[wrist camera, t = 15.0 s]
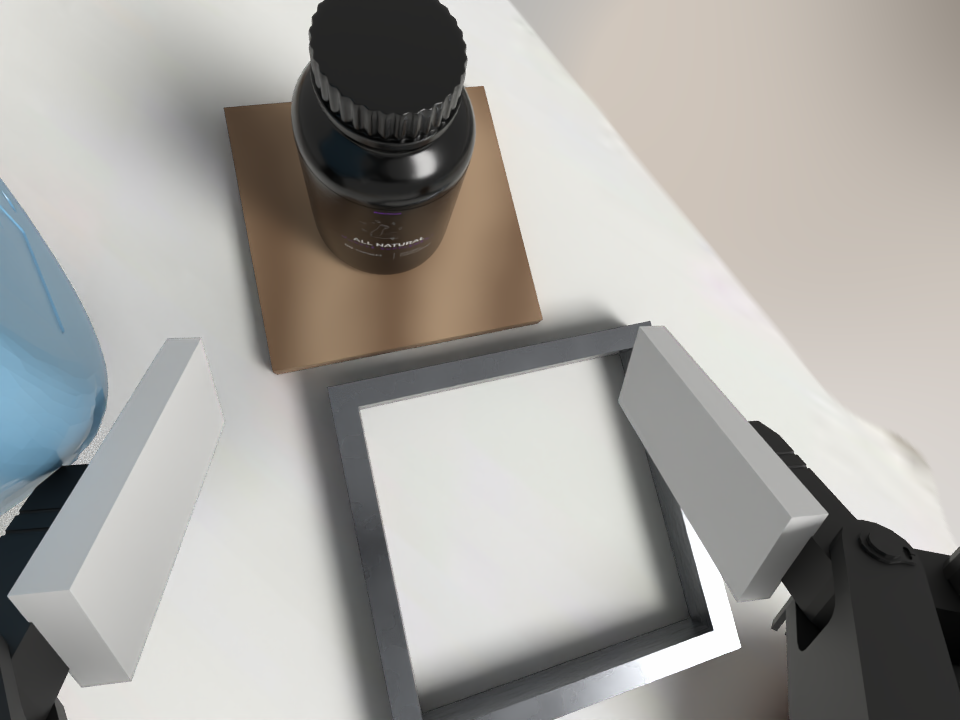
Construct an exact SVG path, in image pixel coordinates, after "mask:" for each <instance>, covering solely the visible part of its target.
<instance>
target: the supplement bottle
mask: <svg viewBox="0 0 960 720" xmlns="http://www.w3.org/2000/svg"><path fill="white" fill-rule="evenodd" d="M309 41H310V43H309V53H310V59H311V61H310V62H309V63H308V64H307V66H306V67H305V68H304V70H303V71H302V73H301V75H300V77H299V79H298V81H297V84H296V86H295V89H294V93H293V97H292V104H291V121H292V129H293V134H294V139H295V144H296V148H297V152H298V156H299V160H300V164H301V168H302V172H303V176H304V180H305V184H306V188H307V192H308V197H309V201H310V205H311V209H312V213H313V216H314V220H315V223H316V226H317V229H318V232H319V234H320V236H321V238H322V240H323V241H324V243H325V244H326V246H327V247H328V248H329V249H330V251H331V252H332V253H333V254H334V255H335V256H336V257H338V258H339V259H340V260H341V261H343V262H344V263H346V264H347V265H349V266H351V267H353V268H355V269H357V270H360V271H363V272H366V273H370V274H377V275H393V274H399V273H403V272H406V271H409V270H411V269H414V268H416V267H418V266H419V265H421V264H422V263H424V262H425V261H426V260H427V259H429V258H430V257H431V256H432V255H433V253H434V252H435V251H436V250H437V248H438V247H439V245H440V243H441V241H442V239H443V237H444V235H445V232H446V230H447V227H448V224H449V221H450V218H451V215H452V213H453V210H454V207H455V204H456V201H457V198H458V195H459V192H460V190H461V187H462V184H463V181H464V178H465V175H466V172H467V169H468V167H469V164H470V160H471V157H472V153H473V150H474V144H475V137H476V123H475V115H474V111H473V107H472V104H471V101H470V98H469V96H468V93H467V91H466V89H465V87H464V85H463V83H464V79H465V70H466V66H467V56H466V44H465V42H464V40H463V32H462V31H461V29H460V28H459V27H458V26H457V21H456V19H455V18H454V17H453V16H452V15H450V13H449V10H448V8H447V7H445V6H444V5H442V4H441V3H440V2H439V0H324V1H323V2H321V3H319V4H318V7H317V12H316V13H315V14H314V15H313V16H312V26H311V27H310V29H309Z"/></svg>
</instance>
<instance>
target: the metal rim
mask: <svg viewBox="0 0 960 720" xmlns="http://www.w3.org/2000/svg"><path fill="white" fill-rule="evenodd" d="M639 326H651V322H650V321H648V322H643V323H638V324H633V325H628V326H623V327H619V328H614V329H609V330H604V331H599V332H594V333H589V334H585V335H580V336H575V337H570V338H565V339H560V340H555V341H551V342H546V343H541V344H536V345H531V346H526V347H521V348H516V349H512V350H507V351H502V352H497V353H492V354H487V355H482V356H478V357H473V358H468V359H463V360H458V361H453V362H448V363H444V364H439V365H434V366H429V367H424V368H419V369H414V370H409V371H405V372H400V373H395V374H390V375H385V376H380V377H375V378H371V379H366V380H361V381H356V382H351V383H346V384H341V385H336V386H332V387H327V388H328V393H329V398H330V403H331V409H332V414H333V419H334V424H335V429H336V434H337V439H338V444H339V449H340V454H341V459H342V464H343V469H344V474H345V479H346V484H347V489H348V494H349V499H350V505H351V510H352V515H353V520H354V525H355V530H356V535H357V540H358V545H359V550H360V555H361V560H362V565H363V570H364V575H365V580H366V585H367V590H368V595H369V601H370V606H371V611H372V616H373V621H374V626H375V631H376V636H377V641H378V646H379V651H380V656H381V661H382V666H383V671H384V676H385V681H386V686H387V691H388V697H389V702H390V707H391V712H392V717H393V720H554V719H556V718H559V717H562V716H564V715H567V714H569V713H572V712H575V711H577V710H580V709H582V708H585V707H588V706H590V705H593V704H596V703H598V702H601V701H603V700H606V699H609V698H611V697H614V696H616V695H619V694H622V693H624V692H627V691H629V690H632V689H635V688H637V687H640V686H642V685H645V684H648V683H650V682H653V681H655V680H658V679H661V678H663V677H666V676H669V675H671V674H674V673H676V672H679V671H682V670H684V669H687V668H689V667H692V666H695V665H697V664H700V663H702V662H705V661H708V660H710V659H713V658H715V657H718V656H721V655H723V654H726V653H729V652H731V651H734V650H736V649H739V648H741V645H740V641H739V638H738V634H737V631H736V627H735V623H734V620H733V616H732V613H731V609H730V605H729V602H728V598H727V595H726V591H725V588H724V584H723V580H722V577H721V574H720V573H719V571H718V569H717V568H716V566H715V564H714V563H713V561H712V559H711V557H710V556H709V554H708V552H707V551H706V549H705V547H704V546H703V544H702V542H701V541H700V539H699V537H698V536H697V534H696V532H695V531H694V529H693V527H692V526H691V524H690V522H689V520H688V519H687V517H686V515H685V514H684V512H683V510H682V509H681V507H680V505H679V504H678V502H677V500H676V499H675V497H674V495H673V494H672V492H671V490H670V489H669V487H668V485H667V483H666V482H665V480H664V478H663V477H662V475H661V473H660V472H659V470H658V468H657V467H656V465H655V463H654V462H653V460H652V458H651V457H650V455H649V453H648V452H647V450H646V448H645V450H646V454H647V457H648V461H649V465H650V468H651V472H652V476H653V480H654V483H655V487H656V491H657V494H658V498H659V502H660V506H661V509H662V513H663V517H664V520H665V524H666V528H667V531H668V535H669V539H670V543H671V546H672V550H673V554H674V557H675V561H676V565H677V569H678V572H679V576H680V580H681V583H682V587H683V591H684V595H685V598H686V602H687V606H688V609H689V613H690V617H691V618H688V619H686V620H683V621H680V622H677V623H675V624H672V625H669V626H666V627H663V628H661V629H658V630H655V631H652V632H649V633H647V634H644V635H641V636H638V637H635V638H633V639H630V640H627V641H624V642H622V643H619V644H616V645H613V646H610V647H608V648H605V649H602V650H599V651H596V652H594V653H591V654H588V655H585V656H583V657H580V658H577V659H574V660H571V661H569V662H566V663H563V664H560V665H557V666H555V667H552V668H549V669H546V670H543V671H541V672H538V673H535V674H532V675H530V676H527V677H524V678H521V679H518V680H516V681H513V682H510V683H507V684H504V685H502V686H499V687H496V688H493V689H490V690H488V691H485V692H482V693H479V694H477V695H474V696H471V697H468V698H465V699H463V700H460V701H457V702H454V703H451V704H449V705H446V706H443V707H440V708H438V709H435V710H432V711H429V712H426V713H424V714H422V712H421V707H420V702H419V697H418V692H417V687H416V682H415V677H414V672H413V668H412V663H411V658H410V653H409V648H408V643H407V638H406V633H405V628H404V624H403V619H402V614H401V609H400V604H399V599H398V594H397V589H396V584H395V580H394V575H393V570H392V565H391V560H390V555H389V550H388V545H387V540H386V536H385V531H384V526H383V521H382V516H381V511H380V506H379V501H378V496H377V492H376V487H375V482H374V477H373V472H372V467H371V462H370V457H369V452H368V448H367V443H366V438H365V433H364V428H363V423H362V418H361V413H360V410H361V409H365V408H370V407H374V406H379V405H384V404H388V403H393V402H397V401H402V400H407V399H411V398H416V397H420V396H425V395H430V394H434V393H439V392H443V391H448V390H452V389H457V388H462V387H466V386H471V385H475V384H480V383H485V382H489V381H494V380H498V379H503V378H507V377H512V376H517V375H521V374H526V373H530V372H535V371H540V370H544V369H549V368H553V367H558V366H563V365H567V364H572V363H576V362H581V361H585V360H590V359H595V358H599V357H604V356H608V355H613V354H618V353H620V357H621V361H622V364H623V368H624V372H625V375H626V371H627V368H628V364H629V361H630V357H631V354H632V350H633V347H634V343H635V340H636V336H637V333H638V329H639Z"/></svg>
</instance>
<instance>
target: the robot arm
mask: <svg viewBox="0 0 960 720" xmlns="http://www.w3.org/2000/svg"><path fill="white" fill-rule="evenodd" d="M107 397H108V379H107V371H106V365H105V361H104V357H103V354H102V351H101V348H100V344H99V341H98V339H97V336H96V334H95V331H94V329H93V327H92V324H91V322H90V320H89V318H88V315H87V313H86V311H85V309H84V307H83V305H82V303H81V301H80V300H79V298H78V296H77V294H76V292H75V290H74V289H73V287H72V285H71V283H70V281H69V280H68V278H67V276H66V275H65V273H64V271H63V270H62V268H61V266H60V265H59V263H58V261H57V260H56V258H55V257H54V255H53V254H52V252H51V250H50V249H49V247H48V246H47V244H46V243H45V241H44V240H43V238H42V237H41V235H40V234H39V232H38V230H37V229H36V227H35V226H34V224H33V223H32V221H31V220H30V218H29V217H28V215H27V214H26V213H25V211H24V210H23V208H22V207H21V206H20V204H19V203H18V201H17V200H16V199H15V197H14V196H13V194H12V193H11V192H10V190H9V189H8V188H7V186H6V185H5V183H4V182H3V181H2V179H1V178H0V516H1V515H3V514H4V513H6V512H7V511H8V510H10V509H11V508H13V507H14V506H15V505H17V504H18V503H20V502H21V501H22V500H24V499H25V498H27V497H28V496H29V495H30V496H29V498H28V499H27V500H26V502H25V503H24V505H23V506H22V508H21V509H20V510H19V511H20V514H19V515H16V516H15V518H14V519H13V520H12V522H11V523H10V525H9V526H8V528H7V529H6V530H5V531H6V534H5V535H4V536H1V537H0V720H67V717H66V713H65V710H64V706H63V705H62V704H61V702H60V701H59V699H58V698H57V695H58V693H59V691H60V689H61V687H62V684H63V682H64V680H65V678H66V676H67V674H68V672H69V673H70V674H71V675H72V677H73V678H74V679H75V680H76V681H77V683H78V684H79V685H80V686H81V688H82V687H90V686H97V685H105V684H113V683H121V682H128V681H132V678H133V675H134V673H135V670H136V667H137V664H138V662H139V659H140V656H141V653H142V651H143V648H144V645H145V642H146V640H147V637H148V634H149V631H150V629H151V626H152V623H153V620H154V617H155V615H156V612H157V609H158V606H159V604H160V601H161V598H162V595H163V593H164V590H165V587H166V584H167V582H168V579H169V576H170V573H171V571H172V568H173V565H174V562H175V559H176V557H177V554H178V551H179V548H180V546H181V543H182V540H183V537H184V535H185V532H186V529H187V526H188V524H189V521H190V518H191V515H192V513H193V510H194V507H195V504H196V501H197V499H198V496H199V493H200V490H201V488H202V485H203V482H204V479H205V477H206V474H207V471H208V468H209V466H210V463H211V460H212V457H213V455H214V452H215V449H216V446H217V443H218V441H219V438H220V435H221V432H222V430H223V427H224V424H225V420H224V416H223V413H222V409H221V406H220V402H219V398H218V395H217V391H216V388H215V384H214V381H213V377H212V374H211V370H210V367H209V363H208V360H207V356H206V353H205V349H204V346H203V342H202V338H169V339H167V340H166V341H165V343H164V345H163V346H162V348H161V349H160V351H159V353H158V354H157V356H156V357H155V359H154V361H153V362H152V364H151V365H150V367H149V369H148V370H147V372H146V374H145V375H144V377H143V378H142V380H141V382H140V383H139V385H138V386H137V388H136V390H135V391H134V393H133V394H132V396H131V398H130V399H129V401H128V402H127V404H126V406H125V407H124V409H123V411H122V412H121V414H120V415H119V417H118V419H117V420H116V422H115V423H114V425H113V427H112V428H111V430H110V431H109V433H108V435H107V436H106V438H105V439H104V441H103V443H102V444H101V446H100V447H99V449H98V451H97V452H96V454H95V456H94V457H93V459H92V460H91V462H90V464H82V465H71V464H72V463H73V462H75V461H76V460H77V459H78V456H79V454H80V453H81V452H82V451H83V450H84V449H85V448H86V447H87V446H88V445H89V444H90V443H91V441H92V440H93V438H94V437H95V435H96V434H97V432H98V430H99V427H100V425H101V422H102V419H103V416H104V414H105V411H106V405H107ZM618 403H619V404H620V406H621V408H622V410H623V411H624V413H625V415H626V416H627V418H628V420H629V421H630V423H631V425H632V426H633V428H634V430H635V431H636V433H637V435H638V436H639V438H640V440H641V441H642V443H643V445H644V447H645V448H646V450H647V452H648V453H649V455H650V457H651V458H652V460H653V462H654V463H655V465H656V467H657V468H658V470H659V472H660V473H661V475H662V477H663V478H664V480H665V482H666V483H667V485H668V487H669V489H670V490H671V492H672V494H673V495H674V497H675V499H676V500H677V502H678V504H679V505H680V507H681V509H682V510H683V512H684V514H685V515H686V517H687V519H688V520H689V522H690V524H691V526H692V527H693V529H694V531H695V532H696V534H697V536H698V537H699V539H700V541H701V542H702V544H703V546H704V547H705V549H706V551H707V552H708V554H709V556H710V557H711V559H712V561H713V563H714V564H715V566H716V568H717V569H718V571H719V573H720V574H721V576H722V578H723V579H724V581H725V583H726V584H727V586H728V588H729V589H730V591H731V593H732V594H733V596H734V598H735V599H736V601H737V602H745V601H753V600H760V599H768V598H770V597H771V596H772V594H773V593H774V591H775V590H776V589H777V587H778V586H779V584H780V583H781V581H782V582H783V584H784V585H785V587H786V588H787V590H788V591H789V593H790V594H791V595H792V596H791V597H790V598H789V600H788V601H787V602H786V604H785V605H784V606H783V608H782V609H781V610H780V612H779V613H778V615H777V616H776V617H775V619H774V620H773V623H772V627H771V629H773V630H775V631H777V630H778V629H779V628H780V626H781V625H782V624H783V622H784V621H785V620H786V633H785V635H786V637H787V669H788V702H789V720H960V547H959V548H958V549H957V550H956V551H955V552H954V553H953V554H952V555H951V556H950V555H944V554H939V553H934V552H929V551H923V550H918V549H913V548H912V547H911V546H910V545H909V544H908V543H907V541H906V540H904V539H903V538H902V537H900V536H899V535H897V534H896V533H894V532H893V531H892V530H890V529H888V528H885V527H883V526H881V525H879V524H877V523H873V522H869V521H865V520H857V519H856V518H855V517H854V516H853V515H852V514H851V513H850V512H849V510H848V509H847V508H846V507H845V506H844V505H843V504H842V503H841V502H840V501H839V500H838V499H837V497H836V496H835V495H834V494H833V493H832V492H831V491H830V490H829V489H828V488H827V487H826V485H825V484H824V483H823V482H822V481H821V480H820V479H819V478H818V477H817V476H816V475H815V473H814V472H813V471H812V470H811V469H810V468H807V467H806V464H805V463H804V462H803V460H802V459H801V458H800V457H799V456H798V455H795V454H794V451H793V450H792V448H791V447H790V446H789V445H788V444H787V443H786V442H785V441H784V440H783V439H782V438H781V437H780V435H779V434H777V433H776V432H774V431H773V430H771V429H770V428H768V427H767V426H765V425H764V424H762V423H761V422H759V421H747V420H746V419H745V418H744V416H743V415H742V414H741V413H740V412H739V411H738V410H737V408H736V407H735V406H734V405H733V404H732V403H731V402H730V400H729V399H728V398H727V397H726V396H725V395H724V394H723V392H722V391H721V390H720V389H719V388H718V387H717V386H716V384H715V383H714V382H713V381H712V380H711V379H710V378H709V376H708V375H707V374H706V373H705V372H704V371H703V370H702V368H701V367H700V366H699V365H698V364H697V363H696V362H695V360H694V359H693V358H692V357H691V356H690V355H689V354H688V352H687V351H686V350H685V349H684V348H683V347H682V346H681V344H680V343H679V342H678V341H677V340H676V339H675V338H674V336H673V335H672V334H671V333H670V332H669V331H668V330H667V328H666V327H665V326H639V329H638V333H637V336H636V340H635V343H634V347H633V350H632V354H631V357H630V361H629V364H628V368H627V371H626V375H625V378H624V382H623V385H622V389H621V392H620V396H619V399H618Z"/></svg>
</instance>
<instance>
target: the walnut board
mask: <svg viewBox="0 0 960 720" xmlns="http://www.w3.org/2000/svg"><path fill="white" fill-rule="evenodd" d="M465 89H466V91H467V93H468V96H469V98H470V101H471V104H472V107H473V111H474V115H475V123H476V137H475V144H474V150H473V153H472V157H471V160H470V164H469V167H468V169H467V172H466V175H465V178H464V181H463V184H462V187H461V190H460V192H459V195H458V198H457V201H456V204H455V207H454V210H453V213H452V215H451V218H450V221H449V224H448V227H447V230H446V232H445V235H444V237H443V239H442V241H441V243H440V245H439V247H438V248H437V250H436V251H435V252H434V253H433V255H432V256H431V257H430V258H429V259H427V260H426V261H425V262H424V263H422V264H421V265H419V266H418V267H416V268H414V269H411V270H409V271H406V272H403V273H399V274H393V275H377V274H370V273H366V272H363V271H360V270H357V269H355V268H353V267H351V266H349V265H347V264H346V263H344V262H343V261H341V260H340V259H339V258H338V257H336V256H335V255H334V254H333V253H332V252H331V251H330V249H329V248H328V247H327V246H326V244H325V243H324V241H323V240H322V238H321V236H320V234H319V232H318V229H317V226H316V223H315V220H314V216H313V213H312V209H311V205H310V201H309V197H308V192H307V188H306V184H305V180H304V176H303V172H302V168H301V164H300V160H299V156H298V152H297V148H296V144H295V139H294V134H293V129H292V121H291V104H292V102H286V103H274V104H262V105H250V106H238V107H226V108H224V111H225V117H226V122H227V128H228V133H229V138H230V144H231V149H232V155H233V160H234V165H235V171H236V176H237V181H238V187H239V192H240V198H241V203H242V208H243V214H244V219H245V225H246V230H247V235H248V241H249V246H250V252H251V257H252V262H253V268H254V273H255V278H256V284H257V289H258V295H259V300H260V305H261V311H262V316H263V322H264V327H265V332H266V338H267V343H268V348H269V354H270V359H271V365H272V370H273V372H274V373H275V374H277V375H278V374H283V373H288V372H293V371H298V370H303V369H308V368H313V367H319V366H324V365H329V364H334V363H339V362H344V361H349V360H354V359H359V358H365V357H370V356H375V355H380V354H385V353H390V352H395V351H400V350H405V349H410V348H416V347H421V346H426V345H431V344H436V343H441V342H446V341H451V340H456V339H461V338H467V337H472V336H477V335H482V334H487V333H492V332H497V331H502V330H507V329H512V328H518V327H523V326H528V325H533V324H537V323H539V322H540V321H541V320H543V319H542V315H541V311H540V307H539V303H538V299H537V295H536V291H535V287H534V283H533V279H532V275H531V271H530V267H529V263H528V259H527V255H526V251H525V247H524V243H523V240H522V236H521V232H520V228H519V224H518V220H517V216H516V212H515V208H514V204H513V200H512V196H511V192H510V188H509V184H508V180H507V176H506V172H505V168H504V164H503V161H502V157H501V153H500V149H499V145H498V141H497V137H496V133H495V129H494V125H493V121H492V117H491V113H490V109H489V105H488V101H487V97H486V93H485V89H484V86H478V87H466V88H465Z"/></svg>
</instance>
